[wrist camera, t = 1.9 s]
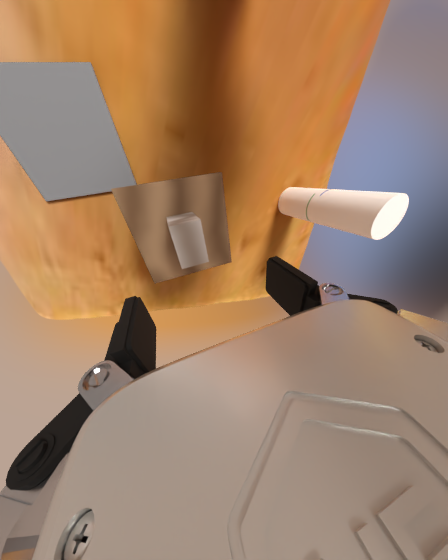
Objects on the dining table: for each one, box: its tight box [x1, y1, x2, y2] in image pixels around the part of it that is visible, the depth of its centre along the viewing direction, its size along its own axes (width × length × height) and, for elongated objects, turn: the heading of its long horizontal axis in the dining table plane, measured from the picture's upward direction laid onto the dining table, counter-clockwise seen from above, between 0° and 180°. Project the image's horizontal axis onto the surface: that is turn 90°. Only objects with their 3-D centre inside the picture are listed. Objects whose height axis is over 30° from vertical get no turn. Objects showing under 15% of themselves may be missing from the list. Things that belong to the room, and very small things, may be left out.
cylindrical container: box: [278, 187, 409, 240], centre depth 36 cm, size 7×7×25 cm
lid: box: [111, 172, 232, 283], centre depth 24 cm, size 15×15×7 cm
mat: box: [0, 62, 137, 201], centre depth 26 cm, size 16×16×1 cm
